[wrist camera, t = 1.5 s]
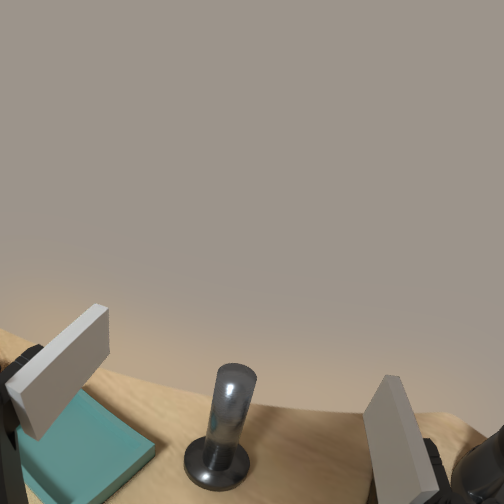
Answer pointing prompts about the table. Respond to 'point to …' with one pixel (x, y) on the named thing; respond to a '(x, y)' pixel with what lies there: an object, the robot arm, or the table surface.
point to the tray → (82, 455)
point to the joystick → (223, 433)
